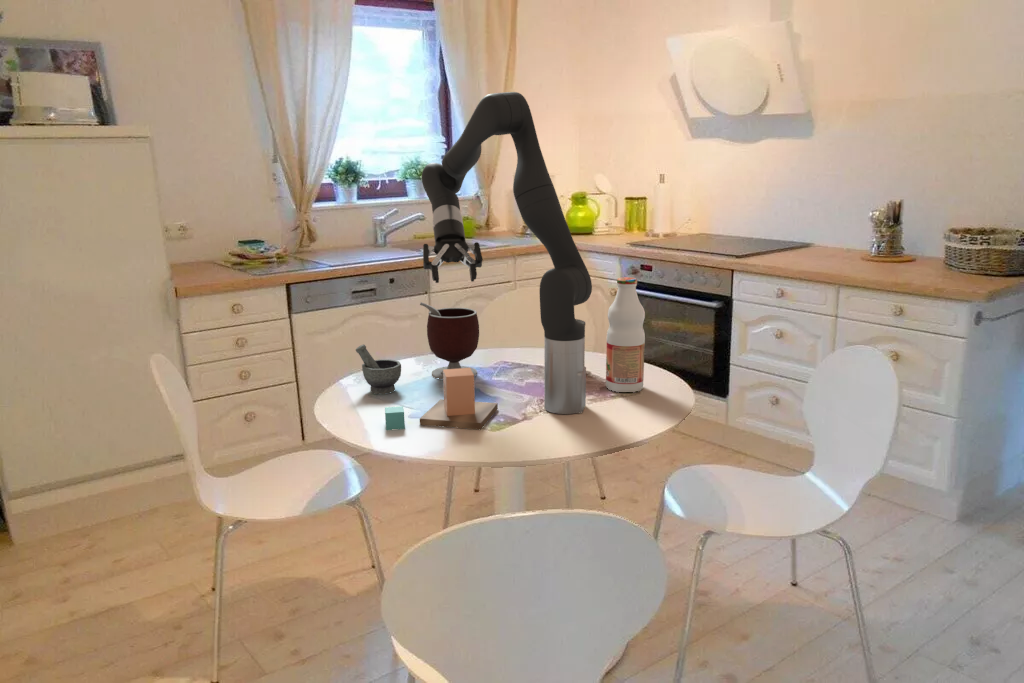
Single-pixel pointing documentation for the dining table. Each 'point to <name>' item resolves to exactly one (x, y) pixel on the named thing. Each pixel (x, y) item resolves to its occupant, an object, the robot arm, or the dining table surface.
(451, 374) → the tall tan upright block
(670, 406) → the dining table surface
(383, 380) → the mortar and pestle
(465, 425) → the walnut board
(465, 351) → the mate gourd
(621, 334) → the fruit juice
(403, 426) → the teal block
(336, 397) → the dining table surface
